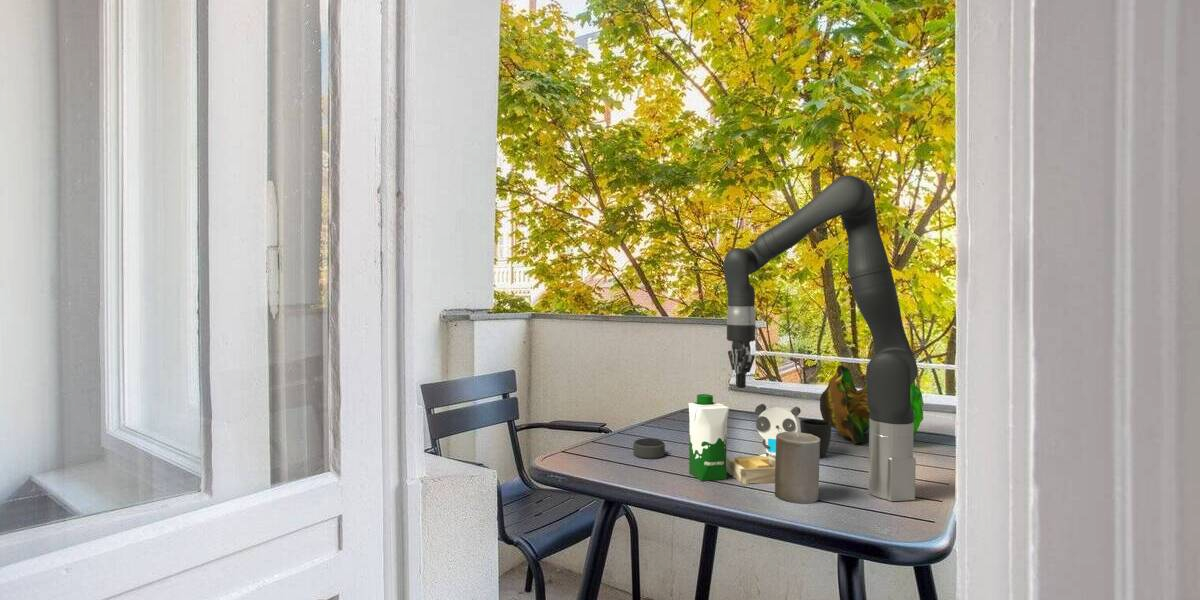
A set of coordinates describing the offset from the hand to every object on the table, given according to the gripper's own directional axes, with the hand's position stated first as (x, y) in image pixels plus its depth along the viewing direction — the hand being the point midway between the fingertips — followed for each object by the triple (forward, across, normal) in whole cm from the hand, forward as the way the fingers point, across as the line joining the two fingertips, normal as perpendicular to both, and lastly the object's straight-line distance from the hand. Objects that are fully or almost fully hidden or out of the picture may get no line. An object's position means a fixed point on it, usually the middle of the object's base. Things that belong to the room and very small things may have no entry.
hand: (740, 387), depth 163 cm
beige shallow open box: (+21, -11, 0) cm, 23 cm away
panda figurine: (+21, +2, -12) cm, 24 cm away
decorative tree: (+21, +19, -51) cm, 58 cm away
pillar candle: (+21, -26, -3) cm, 34 cm away
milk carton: (+21, -9, +12) cm, 26 cm away
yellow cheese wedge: (+21, -11, 0) cm, 23 cm away
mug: (+21, +7, -25) cm, 33 cm away
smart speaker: (+21, +12, +22) cm, 33 cm away
